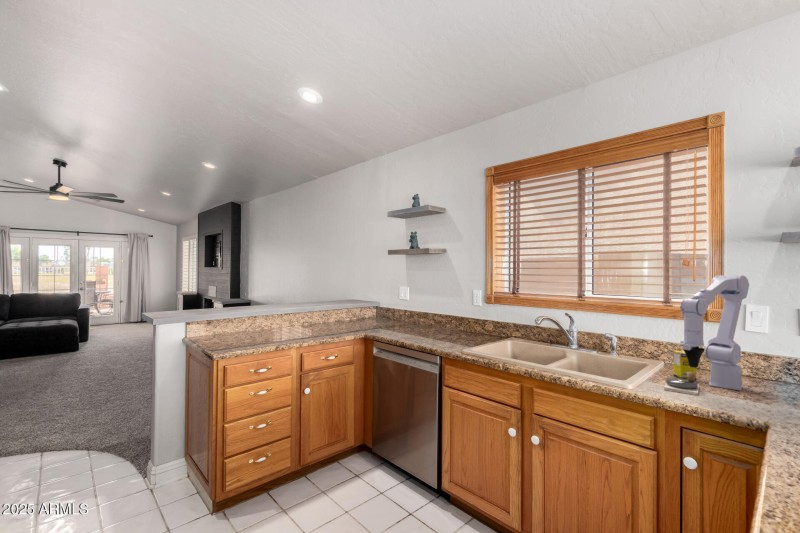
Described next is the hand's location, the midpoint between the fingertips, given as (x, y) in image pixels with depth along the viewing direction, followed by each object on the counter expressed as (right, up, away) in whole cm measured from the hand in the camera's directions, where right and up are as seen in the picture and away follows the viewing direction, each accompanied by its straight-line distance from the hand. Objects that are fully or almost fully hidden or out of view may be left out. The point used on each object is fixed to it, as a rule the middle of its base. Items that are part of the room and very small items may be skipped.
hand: (693, 367), depth 141 cm
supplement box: (+10, -10, +18) cm, 22 cm away
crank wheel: (-2, -8, +3) cm, 9 cm away
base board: (-2, -9, +3) cm, 10 cm away
